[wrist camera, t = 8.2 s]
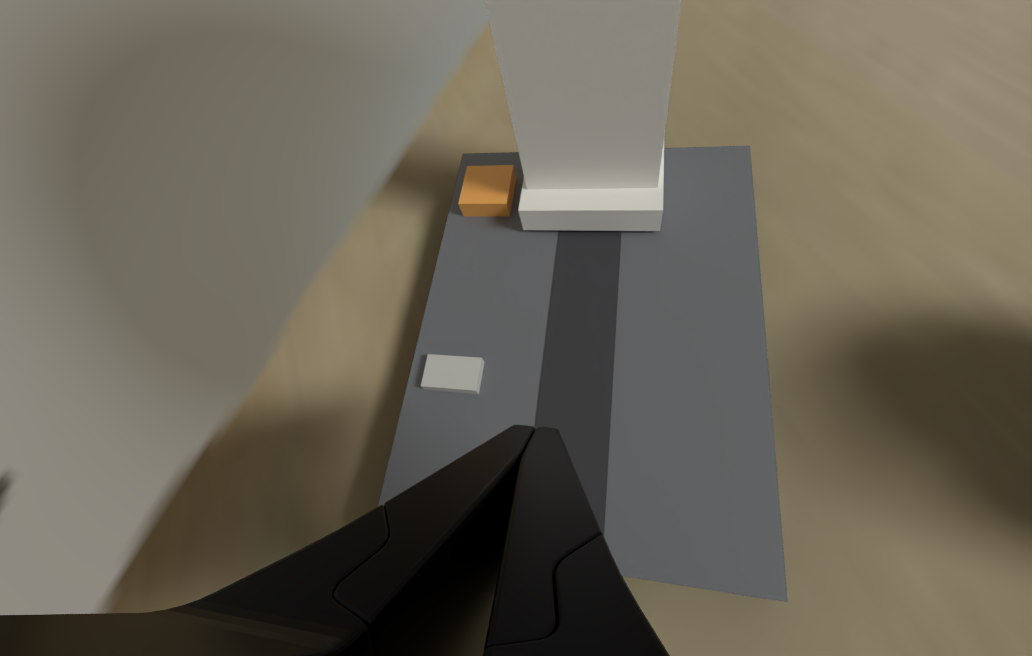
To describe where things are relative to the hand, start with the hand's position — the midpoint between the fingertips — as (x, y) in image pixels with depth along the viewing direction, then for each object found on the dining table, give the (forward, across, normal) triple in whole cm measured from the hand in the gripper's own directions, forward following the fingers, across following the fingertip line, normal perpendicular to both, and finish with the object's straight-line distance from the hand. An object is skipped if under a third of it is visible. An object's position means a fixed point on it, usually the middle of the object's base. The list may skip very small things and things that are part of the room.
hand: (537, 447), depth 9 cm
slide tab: (+13, 0, -4) cm, 13 cm away
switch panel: (+10, 0, +1) cm, 10 cm away
